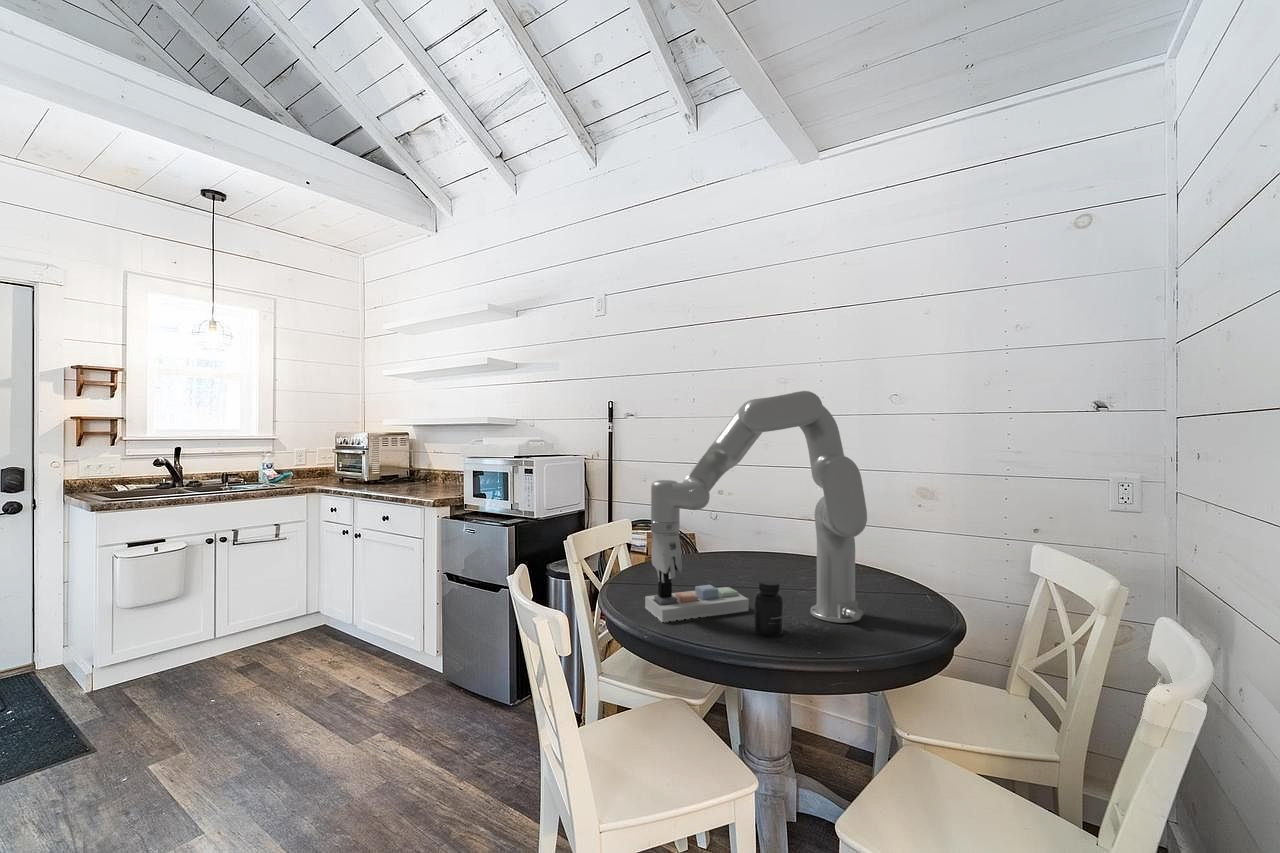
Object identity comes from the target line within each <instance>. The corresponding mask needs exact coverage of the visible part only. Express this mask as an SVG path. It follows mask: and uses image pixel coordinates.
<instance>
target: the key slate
mask: <svg viewBox="0 0 1280 853" xmlns="http://www.w3.org/2000/svg"><path fill="white" fill-rule="evenodd" d="M717 588H718V587H715V586H713V585H712V584H702V585H695V586H694V591H695V595H697V596H698V598H699V599H700V600H702V601H703V600H711V599H718V589H717Z"/></svg>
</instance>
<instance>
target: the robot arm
mask: <svg viewBox="0 0 1280 853" xmlns="http://www.w3.org/2000/svg"><path fill="white" fill-rule="evenodd" d="M833 416H834V415H832V413H831V412H830V411H829V409H828V408H826V407H825V405H823V402H822V400H821V399H820V397H819V396H818V395H817V394H816V393H814V392H813V391H808V390H801V391H794V392H792V393H786V394H781V395H774V396H769V397H768V396H767V397H763V398H762V397H760V398H754V399H750V400H747V401H746V402H744V403H742V405H741V406H740V407H739V408H738V410H737V411H736V413H734V415H733V416H732V418H731V419H730V420H729V422H728V423H727V424H726V426H725V427H724V428H723V430H722V431H721V432H720V433H719V435H718V436H717V438H715V440H714V441H713V442H712V444H710V446H709V447H708V449H707V450H706V452H705V453H704V454H703V456H702V457H701V458H700V459H699V460H698V462H697V463H696V464H695V466H694V467H693V468H692V469H691V471H690V472H689V473H688V474H687V476H686V477H685V478H684V480H683V481H682V482H677V481H676V480H670V479H667V480H665V479H663V480H662V479H659V480H654V481H653V482H652V483H651V488H650V492H651V493H650V495H651V496H650V501H651V502H650V504H651V505H650V506H651V507H650V509H651V510H650V511H651V512H650V513H651V514H650V533H651V534H652V537H651V538H652V539H651V564H652V566H653V567H654V568H655V570H656V573H657V581H658V582H657V584H658V585H657V586H658V587H657V588H658V590H657V593H658V594H657V595H658V596H659V597H660V598H666V597H671V596H672V593H673V589H672V588H673V580H675V579H676V572H677V573H681V572H682V550H681V547H682V546H681V540H680V524H681V523H680V518H681V517H680V516H681V515H680V513H681V510H680V509H682V510H689V511H700V510H702V509H704V508H706V507H707V505H708V504H709V502H710V496H711V495H710V491H711V490H712V489H713V488H714V486H715V485H716V483H717V482H718V481H720V479H721V478H722V477H723V475H725V474H726V472H728V471H729V470H731V469H732V468H735V466H737V465H739V463H740V462H741V461H742V460H743V459H744V457H745V456H746V454H748V452H749V450H750V449H751V448H752V446H753V445H754V444H755V442H756V441H757V440H759V437H761V435H762V434H763V433H767V432H768V433H769V432H774V431H775V432H776V431H780V430H785V429H791V428H798V427H799V429H801V431H802V433H803V434H804V438H805V441H806V445H807V449H808V454H809V455H808V456H809V462H810V463H809V464H810V470H811V477H812V480H813V482H814V483H815V484H816V485H817V486H818V487H820V488H821V489H822V490H823V497H821V498H820V499H819V500H818V502H817V503H816V505H815V509H814V523H815V524H814V526H815V533H816V604H814V605H812V606H811V607H810V614H811V615H812V616H813V617H815V618H816V619H819V620H821V621H826V622H829V623H830V622H831V623H837V624H838V623H839V624H844V623H845V624H847V623H850V624H851V623H854V622H855V623H856V622H858V621H860V620H862V617H863V616H864V611H863V610H862V609H859V608H858V601H857V600H856V541H855V539H856V538H855V537H857V536H859V535H860V534H861V533H863V531H864V530H865V528H866V525H867V522H868V512H867V511H868V510H867V504H866V498H865V491H864V486H863V485H864V484H863V480H862V475H861V471H860V470H859V467H858V466H857V464H856V463H855V461H854V460H853V459H851V458H849V457H848V456H846V455H845V453H844V448H843V443H842V439H841V433H840V430H839V427H838V424H837V422H836V420H835V418H834V417H833Z"/></svg>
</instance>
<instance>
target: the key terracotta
mask: <svg viewBox="0 0 1280 853" xmlns="http://www.w3.org/2000/svg"><path fill="white" fill-rule="evenodd" d="M682 592H683V593H679V592H674V593H675V598H677V600H678V601H679V602H681V603H687V602H695V601H698V596H697V595H695V594H693V593H692V592H687V591H682Z"/></svg>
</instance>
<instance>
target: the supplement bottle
mask: <svg viewBox="0 0 1280 853" xmlns="http://www.w3.org/2000/svg"><path fill="white" fill-rule="evenodd" d="M780 591H781V590H780V582H778V581H776V580H771V579H768V580H767V579H763V580H760V581H759V583H758V592H756V594H755V595H754V606H753V607H754V610H753V612H754V615H753V616H754V617H753V618H754V619H753V620H754V621H753V628H754V632H755V633H756V634H758V635H760V636H764V637H769V638H770V637H774V638H775V637H779V636H781V635H782V634H783V633H784V597H783V595H782V594H781V593H779V592H780Z"/></svg>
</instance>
